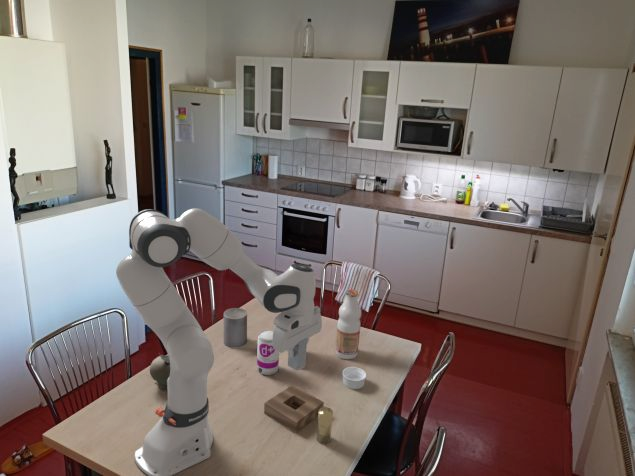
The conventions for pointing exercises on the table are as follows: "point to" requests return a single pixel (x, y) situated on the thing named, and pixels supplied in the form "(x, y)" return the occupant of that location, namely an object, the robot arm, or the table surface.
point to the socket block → (289, 417)
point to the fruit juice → (348, 327)
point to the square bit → (298, 355)
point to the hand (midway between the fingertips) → (297, 353)
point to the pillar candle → (235, 327)
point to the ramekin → (354, 377)
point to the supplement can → (267, 354)
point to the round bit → (324, 425)
